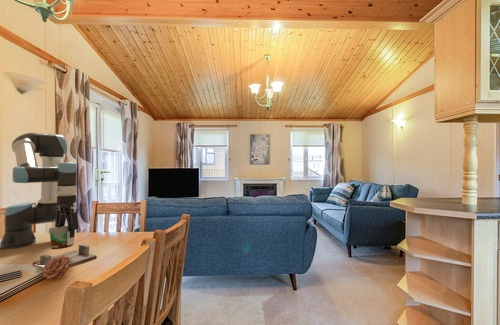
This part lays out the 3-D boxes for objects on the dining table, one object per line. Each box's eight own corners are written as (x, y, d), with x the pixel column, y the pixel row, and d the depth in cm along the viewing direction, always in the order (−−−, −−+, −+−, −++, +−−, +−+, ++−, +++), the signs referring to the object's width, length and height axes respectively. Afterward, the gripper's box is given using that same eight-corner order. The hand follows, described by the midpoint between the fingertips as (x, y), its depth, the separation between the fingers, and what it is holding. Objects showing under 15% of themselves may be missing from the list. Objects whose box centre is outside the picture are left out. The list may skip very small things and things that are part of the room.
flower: (57, 267, 107) (46, 255, 102) (79, 262, 108) (69, 250, 103) (46, 288, 99) (34, 277, 94) (70, 283, 100) (59, 271, 95)
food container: (59, 251, 111) (59, 228, 112) (48, 250, 113) (48, 228, 113) (82, 243, 123) (83, 222, 124) (72, 242, 125) (72, 222, 125)
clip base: (32, 264, 114) (32, 253, 114) (74, 252, 130) (74, 242, 130) (55, 271, 106) (55, 259, 106) (96, 257, 122) (96, 247, 122)
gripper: (46, 194, 119) (45, 243, 119) (70, 196, 111) (69, 248, 110) (63, 193, 126) (62, 238, 126) (87, 195, 118) (87, 243, 117)
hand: (66, 243), depth 118 cm, fingers closed on food container, 7 cm apart
